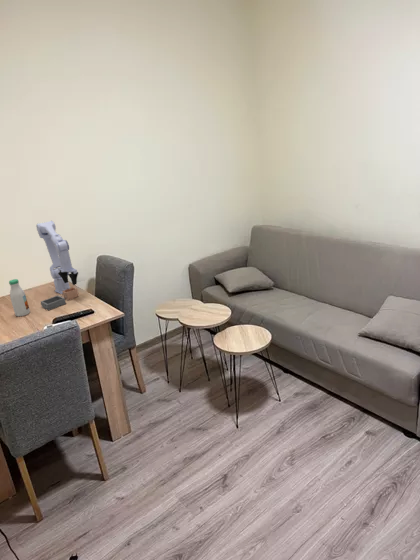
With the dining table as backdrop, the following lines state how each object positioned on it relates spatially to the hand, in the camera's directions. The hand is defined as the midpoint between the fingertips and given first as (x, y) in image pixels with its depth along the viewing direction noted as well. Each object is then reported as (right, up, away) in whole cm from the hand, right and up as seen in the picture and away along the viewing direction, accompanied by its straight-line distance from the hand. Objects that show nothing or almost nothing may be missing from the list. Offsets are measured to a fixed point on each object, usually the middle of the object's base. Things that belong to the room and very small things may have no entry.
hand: (70, 283), depth 235 cm
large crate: (-8, -13, -5) cm, 16 cm away
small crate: (-1, -9, +4) cm, 10 cm away
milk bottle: (-23, -17, -12) cm, 31 cm away
